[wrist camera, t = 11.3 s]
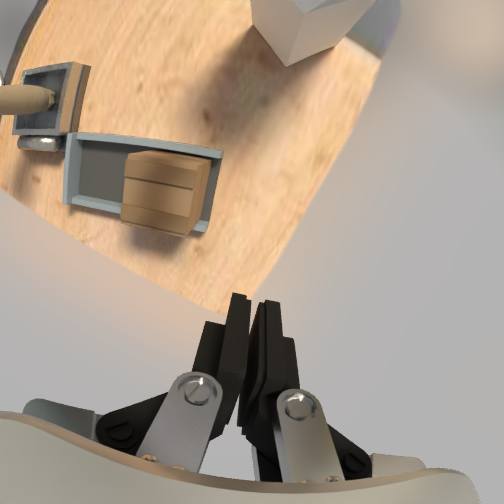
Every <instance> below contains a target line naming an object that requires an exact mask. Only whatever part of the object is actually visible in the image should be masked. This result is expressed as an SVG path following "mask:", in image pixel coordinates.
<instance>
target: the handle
mask: <svg viewBox="0 0 504 504" xmlns="http://www.w3.org/2000/svg"><path fill="white" fill-rule="evenodd" d="M54 96H55V92H54V91H51V90H49V89H46V88H43V87H39V86H34V85H5V86H0V115H25V114H33V113H37V112H40V111H42V112H45V111H48V110H49V109H50V107H51V106H53V104H54Z"/></svg>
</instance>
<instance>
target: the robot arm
mask: <svg viewBox="0 0 504 504" xmlns="http://www.w3.org/2000/svg"><path fill="white" fill-rule="evenodd" d="M0 86H4V77H3V74H2V71H1V70H0ZM246 298H247V296H246V295H242V294H238V293H232V297H231V302H230V306H229V310H228V315H227V319H226V324H225V325H222V324H218V323H214V322H209V321H206V322H205V325H204V329H203V333H202V336H201V340H200V343H199V346H198V350H197V354H196V357H195V361H194V365H193V368H192V372H188V373H184V374H182V375H180V376H179V377H177V379H176V380H175V381H174V383H173V385H172V387H171V389H170V390H169V392H167V393H164V394H161V395H158V396H156V397H153V398H150V399H148V400H145V401H142V402H139V403H136V404H133V405H131V406H128V407H125V408H122V409H119V410H116V411H112V412H109V413H108V414H105V415H99V414H95V412H94V411H91V410H87V409H82V408H77V407H73V406H68V405H64V404H60V403H56V402H52V401H49V400H45V399H38V398H37V399H33V400H31V401H29V402H28V403H27V404H26V406H25V407H24V409H23V413H16V412H10V411H9V412H8V411H0V504H481V502H480V499H479V496H478V494H477V491H476V489H475V487H474V485H473V483H472V481H471V480H470V478H469V477H468V476H466V475H465V474H464V473H462V472H459V471H456V470H452V469H444V468H428V469H426V467H425V465H424V463H423V462H422V461H421V460H420V459H418V458H415V457H404V456H393V455H384V454H376V453H373V454H372V455H368V454H367V453H366V452H365V451H364V450H362V449H361V448H359V447H358V446H357V445H355V444H354V443H353V442H351V441H350V440H349V439H347V438H346V437H344V436H343V435H342V434H341V433H339V432H338V431H337V430H335V429H334V428H333V427H331V426H330V425H329V424H327V422H326V419H325V416H324V413H323V410H322V406H321V404H320V402H319V400H318V399H317V398H316V397H315V396H314V395H312V394H311V393H309V392H307V391H305V390H302V389H300V384H299V376H298V367H297V359H296V352H295V344H294V339H293V338H289V337H283V332H282V320H281V309H280V303H279V302H275V301H270V300H265V302H264V303H262V302H259V305H258V308H257V311H256V315H255V318H254V321H253V324H252V328H251V331H250V334H249V327H250V313H251V300H248V299H246ZM239 393H240V395H239ZM238 396H239V406H238V419H237V426H239V427H242V435H246V439H247V440H248V441H249V442H250V443H251V444H252V449H251V450H252V458H253V467H254V475H255V481H249V480H239V479H231V478H224V477H217V476H211V475H205V474H200V473H199V470H200V468H201V465H202V462H203V459H204V456H205V453H206V450H207V447H208V444H209V441H210V440H213V439H214V438H216V437H218V436H220V435H222V433H223V430H224V427H225V424H227V425H228V423H229V421H230V418H231V415H232V413H233V410H234V407H235V404H236V401H237V399H238Z"/></svg>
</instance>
